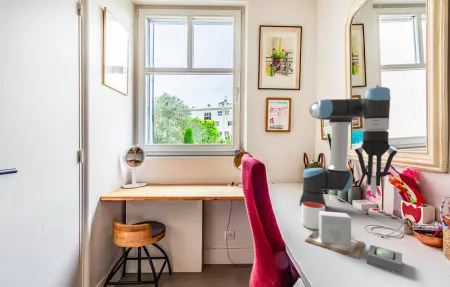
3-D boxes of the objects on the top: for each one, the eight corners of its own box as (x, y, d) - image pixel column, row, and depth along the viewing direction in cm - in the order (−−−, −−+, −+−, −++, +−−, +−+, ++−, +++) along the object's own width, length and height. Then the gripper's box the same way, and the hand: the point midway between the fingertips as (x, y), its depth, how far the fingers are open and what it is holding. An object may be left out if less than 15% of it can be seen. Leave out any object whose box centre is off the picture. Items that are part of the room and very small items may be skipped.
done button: (377, 256, 73) (377, 246, 73) (393, 261, 70) (393, 251, 70) (375, 261, 69) (375, 251, 69) (392, 267, 67) (393, 256, 66)
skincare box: (346, 238, 85) (346, 212, 85) (351, 246, 79) (352, 218, 79) (317, 235, 88) (318, 209, 88) (320, 242, 81) (321, 215, 81)
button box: (370, 253, 76) (370, 244, 76) (401, 262, 70) (402, 253, 70) (366, 263, 69) (367, 254, 69) (401, 274, 64) (401, 264, 64)
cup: (326, 231, 93) (327, 209, 93) (303, 229, 95) (303, 207, 95) (321, 223, 103) (321, 202, 103) (299, 221, 105) (300, 201, 105)
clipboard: (304, 241, 84) (304, 238, 84) (316, 230, 94) (316, 228, 94) (358, 258, 72) (358, 255, 72) (364, 244, 83) (364, 241, 83)
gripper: (353, 130, 79) (351, 192, 80) (398, 130, 71) (395, 200, 72) (357, 131, 85) (355, 189, 86) (399, 130, 77) (396, 195, 77)
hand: (373, 194), depth 79 cm, fingers closed
